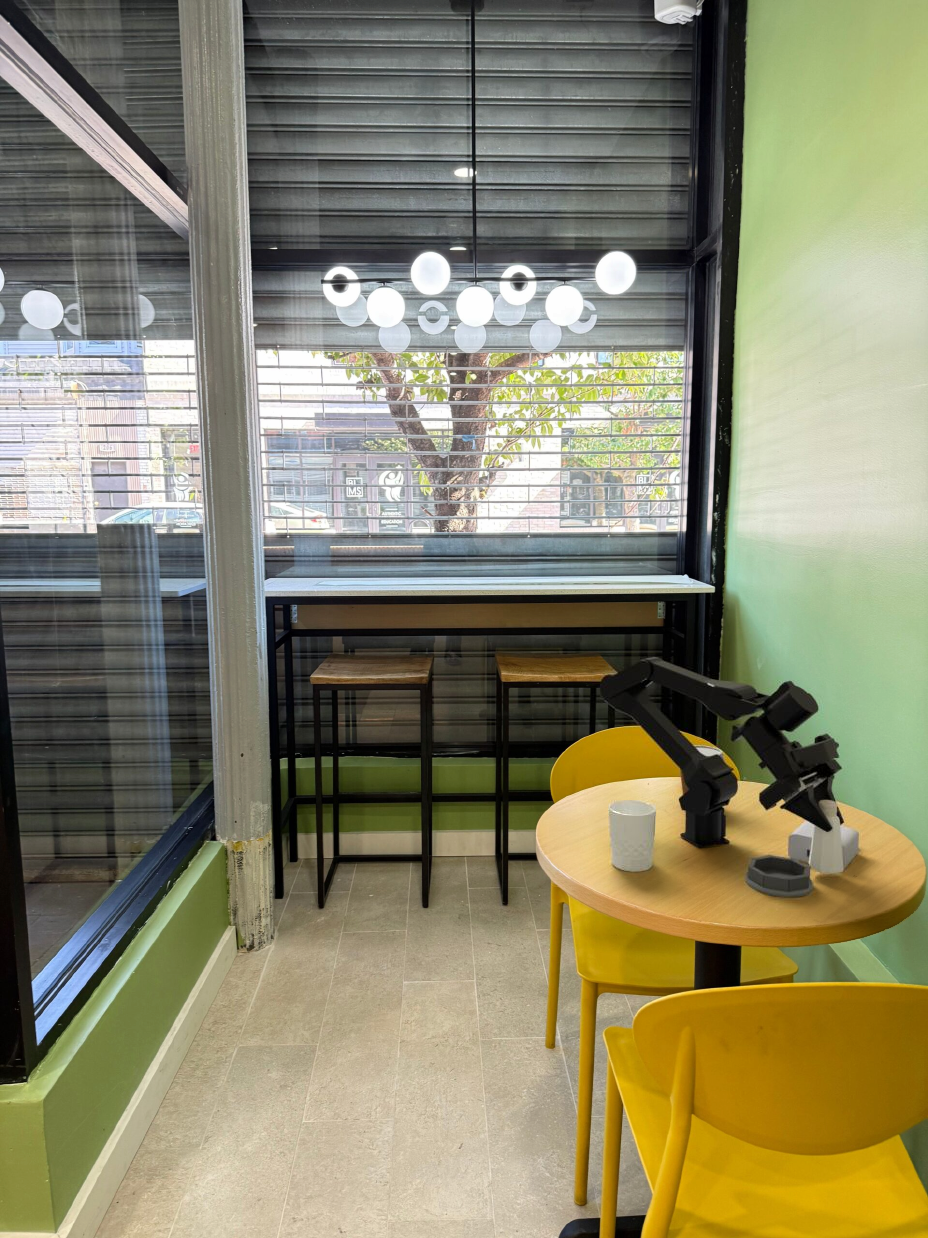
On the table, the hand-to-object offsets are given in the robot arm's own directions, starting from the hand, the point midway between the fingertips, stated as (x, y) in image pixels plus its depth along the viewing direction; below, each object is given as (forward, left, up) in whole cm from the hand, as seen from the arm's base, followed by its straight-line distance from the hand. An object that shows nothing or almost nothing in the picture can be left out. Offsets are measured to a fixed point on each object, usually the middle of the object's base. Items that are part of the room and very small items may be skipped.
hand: (836, 827), depth 129 cm
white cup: (-28, +17, -9) cm, 33 cm away
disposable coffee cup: (0, +38, -9) cm, 39 cm away
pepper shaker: (-1, +1, -7) cm, 7 cm away
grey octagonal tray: (-10, +2, -9) cm, 13 cm away
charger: (+8, +10, -9) cm, 16 cm away
